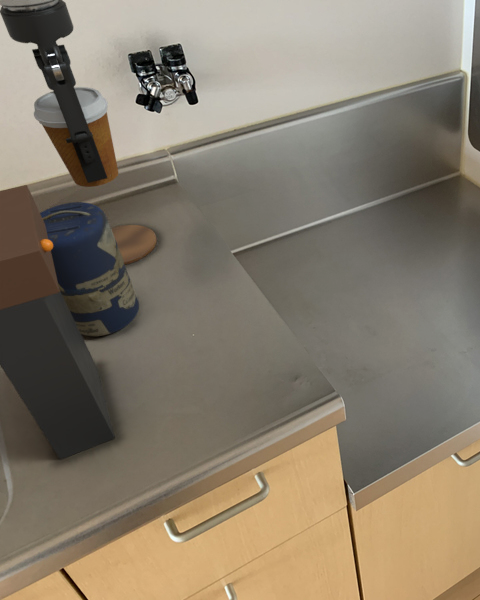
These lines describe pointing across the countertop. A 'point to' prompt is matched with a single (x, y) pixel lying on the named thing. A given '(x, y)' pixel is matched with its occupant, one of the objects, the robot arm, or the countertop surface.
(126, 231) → the cork coaster
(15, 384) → the wood-topped grey pedestal
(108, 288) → the canister
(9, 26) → the robot arm
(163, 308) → the countertop surface
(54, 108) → the disposable coffee cup
